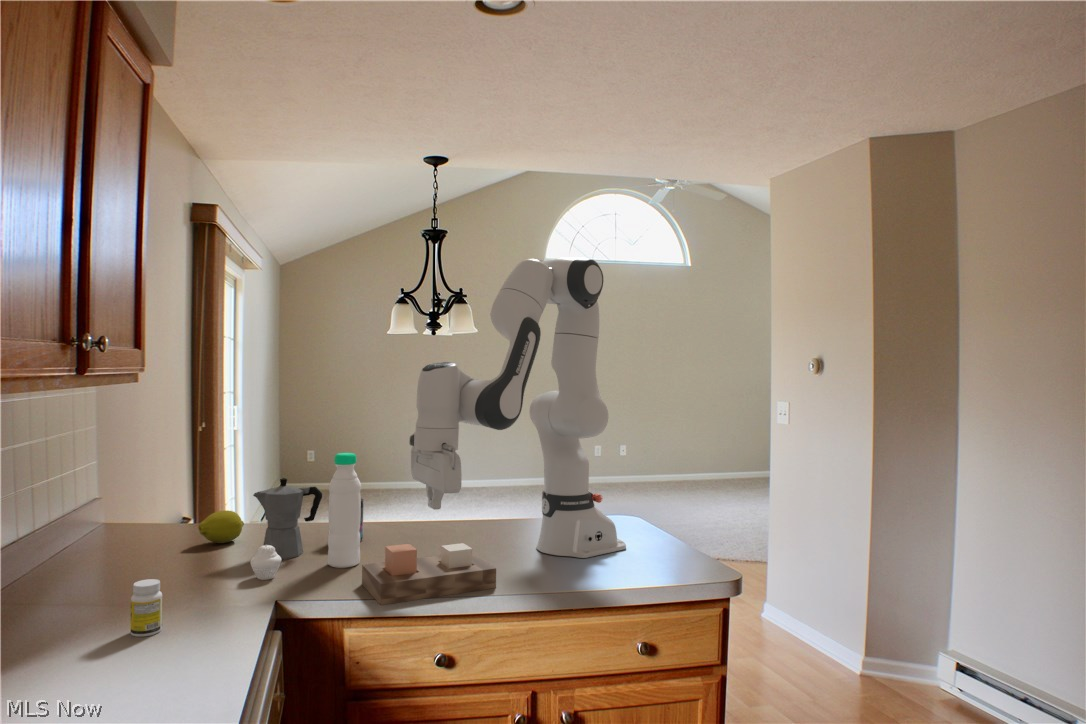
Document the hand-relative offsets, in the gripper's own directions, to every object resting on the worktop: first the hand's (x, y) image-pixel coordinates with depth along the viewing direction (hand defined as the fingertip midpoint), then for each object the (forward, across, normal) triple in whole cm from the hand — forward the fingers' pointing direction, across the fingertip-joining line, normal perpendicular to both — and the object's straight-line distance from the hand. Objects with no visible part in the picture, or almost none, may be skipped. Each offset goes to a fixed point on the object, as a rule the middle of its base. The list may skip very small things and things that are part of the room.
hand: (434, 508), depth 149 cm
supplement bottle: (+18, -2, +51) cm, 54 cm away
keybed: (+16, 0, 0) cm, 16 cm away
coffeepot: (+17, +38, +22) cm, 47 cm away
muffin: (+17, +21, +29) cm, 40 cm away
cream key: (+14, 0, -6) cm, 15 cm away
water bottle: (+16, +24, +12) cm, 31 cm away
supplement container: (+16, +44, +6) cm, 47 cm away
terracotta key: (+13, 0, +6) cm, 14 cm away
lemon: (+17, +55, +35) cm, 67 cm away
